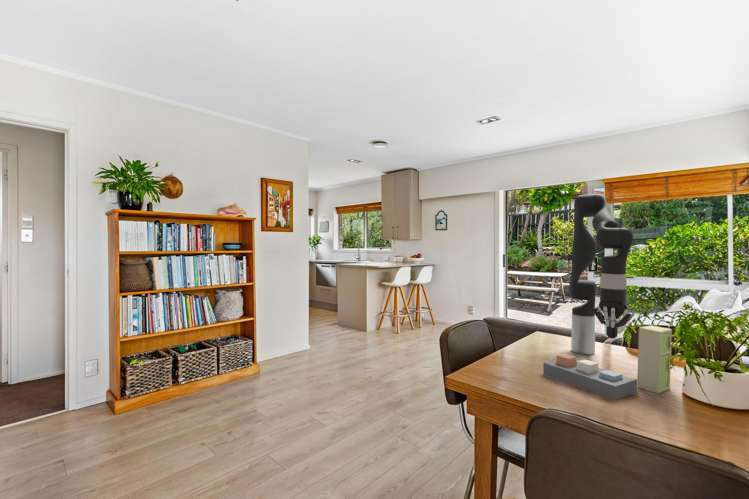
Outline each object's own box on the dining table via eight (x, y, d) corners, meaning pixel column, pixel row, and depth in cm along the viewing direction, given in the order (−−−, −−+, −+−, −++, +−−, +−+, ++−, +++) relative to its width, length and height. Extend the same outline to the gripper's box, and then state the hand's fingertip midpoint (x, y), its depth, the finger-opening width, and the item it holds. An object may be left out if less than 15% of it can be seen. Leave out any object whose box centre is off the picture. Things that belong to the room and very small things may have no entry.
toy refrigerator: (660, 394, 123) (662, 331, 123) (636, 386, 129) (638, 327, 129) (673, 390, 127) (674, 329, 126) (649, 383, 133) (650, 325, 133)
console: (564, 369, 147) (564, 357, 147) (636, 392, 124) (637, 379, 124) (543, 374, 141) (543, 362, 141) (615, 400, 118) (615, 386, 118)
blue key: (607, 381, 129) (607, 369, 129) (621, 386, 125) (622, 374, 125) (599, 383, 126) (599, 372, 126) (613, 388, 122) (614, 376, 122)
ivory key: (584, 370, 136) (585, 359, 136) (598, 374, 132) (598, 363, 132) (576, 372, 133) (577, 361, 133) (590, 376, 129) (590, 365, 129)
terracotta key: (564, 363, 143) (564, 353, 143) (576, 367, 139) (576, 356, 139) (556, 365, 140) (556, 355, 140) (568, 369, 136) (568, 358, 136)
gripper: (640, 288, 121) (639, 341, 121) (599, 284, 132) (598, 332, 133) (628, 290, 117) (626, 344, 118) (586, 285, 129) (585, 334, 129)
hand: (611, 337), depth 125 cm, fingers closed
